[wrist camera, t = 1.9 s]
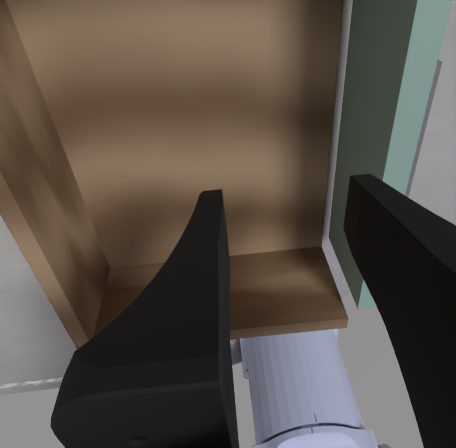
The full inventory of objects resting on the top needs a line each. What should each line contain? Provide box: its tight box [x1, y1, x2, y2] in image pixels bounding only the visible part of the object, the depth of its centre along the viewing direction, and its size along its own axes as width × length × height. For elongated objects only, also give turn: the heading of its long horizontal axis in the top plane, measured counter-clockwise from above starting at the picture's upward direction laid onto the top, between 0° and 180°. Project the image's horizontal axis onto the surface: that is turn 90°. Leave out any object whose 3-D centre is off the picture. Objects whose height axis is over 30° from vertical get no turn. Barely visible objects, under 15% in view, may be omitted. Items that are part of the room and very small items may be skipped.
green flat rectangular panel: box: [329, 0, 452, 309], centre depth 16 cm, size 17×2×6 cm, turn 5°
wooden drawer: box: [0, 0, 348, 350], centre depth 17 cm, size 20×14×7 cm
